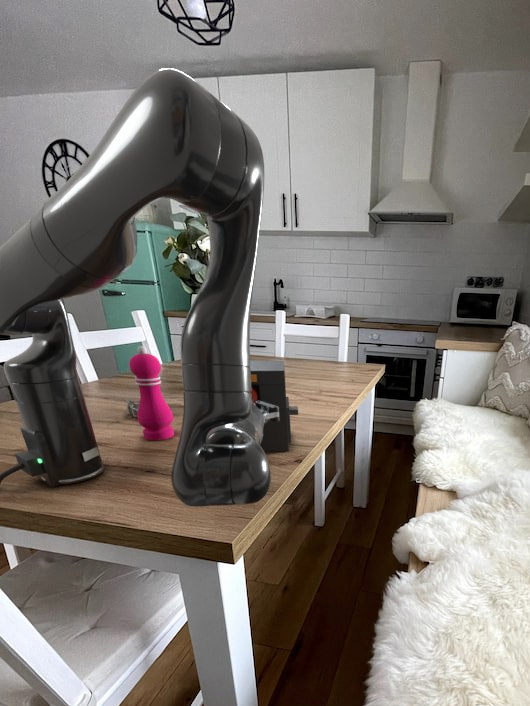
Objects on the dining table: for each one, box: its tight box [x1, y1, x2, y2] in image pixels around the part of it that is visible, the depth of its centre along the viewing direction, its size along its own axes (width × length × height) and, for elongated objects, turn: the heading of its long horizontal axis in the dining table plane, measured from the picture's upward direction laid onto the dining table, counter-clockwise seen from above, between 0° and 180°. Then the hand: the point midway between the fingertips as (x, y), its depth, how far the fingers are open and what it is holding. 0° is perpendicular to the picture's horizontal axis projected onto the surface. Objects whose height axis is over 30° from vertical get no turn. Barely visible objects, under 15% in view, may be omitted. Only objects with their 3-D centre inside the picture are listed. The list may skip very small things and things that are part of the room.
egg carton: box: [123, 398, 140, 418], centre depth 106 cm, size 11×8×4 cm
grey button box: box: [250, 360, 299, 453], centre depth 86 cm, size 18×13×17 cm
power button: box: [250, 387, 257, 403], centre depth 78 cm, size 4×2×4 cm, turn 100°
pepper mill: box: [128, 345, 175, 441], centre depth 87 cm, size 7×7×20 cm
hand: (246, 401), depth 75 cm, fingers closed
